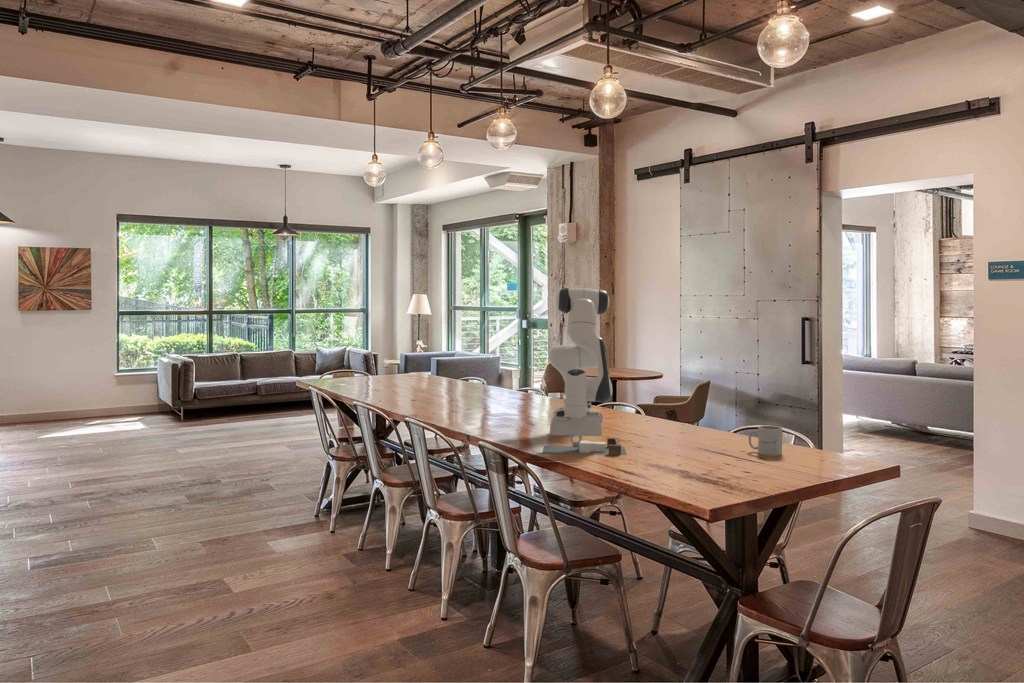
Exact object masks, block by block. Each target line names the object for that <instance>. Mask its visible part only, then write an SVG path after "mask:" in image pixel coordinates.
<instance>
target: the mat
mask: <svg viewBox="0 0 1024 683" xmlns="http://www.w3.org/2000/svg"><path fill="white" fill-rule="evenodd" d="M541 454H542V455H585V456H586V455H591V456H592V455H596V456H598V455H599V456H600V455H602V456H603V455H604V456H610V455H609V447H607V446H606V452H594V451H590V453H579V447H572V445H543V447H542V451H541ZM627 455H628V454H627V450H626V447H625V446H621V455H620V456H627Z"/></svg>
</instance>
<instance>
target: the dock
mask: <svg viewBox="0 0 1024 683" xmlns="http://www.w3.org/2000/svg"><path fill="white" fill-rule="evenodd" d="M606 445H607V446H606V447H609V455H608V456H622V455H621V447H622V445H621V442H620V438H619V437H607V444H606Z"/></svg>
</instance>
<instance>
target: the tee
mask: <svg viewBox="0 0 1024 683" xmlns="http://www.w3.org/2000/svg"><path fill="white" fill-rule="evenodd" d="M606 445H607V444H606V442H605V441H590V440H581V441H580V443H579V453H590V451H594V452H606V447H607V446H606Z"/></svg>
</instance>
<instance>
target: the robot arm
mask: <svg viewBox="0 0 1024 683" xmlns="http://www.w3.org/2000/svg"><path fill="white" fill-rule="evenodd" d="M557 294H558V295H557V297H556V305H557V308H558V310H559V311H560V312H561V313H563V314H568V319H567V334H568V336H569V339H570V340H571V342H572V343H573V344H560V345H556V346H553V347H552V349H551V350H550V351H549V354H548V358H549V362H550V364H551V365H552V367H553V368H555V369H556V370H557V371H558V372H559V374H560V375H561V377H562V379H563V381H564V383H563V394H564V396H565V399H564V403H563V404H564V406H563V407H560V408H556V409H553V412H552V413H553V416H552V418H551V422H550V426H549V433H550V434H549V435H551V436H563V437H565V436H566V437H567V436H569V441H570V442H571V443H572V445H571V446H572V447H579V443H580V441H583V437H600V436H601V435H602V434H603V428H602V423H603V422H604V416H603V414H602V413H600V412H599V411H594V410H592V402H595V403H602V404H603V403H604V404H605V403H606V402H607V401H609V400H610V399H611V398H612V395H613V385H612V381H611V377H610V371H609V364H608V356H607V349H606V346H605V341H604V339H603V338H602V337H601V336H600V335H599V334H598V330H597V315H603V314H606V312H608V309H609V307H610V303H611V302H610V301H611V300H610V296H609V293H608V292H607V291H606V290H603V289H595V288H590V287H589V288H588V287H581V288H579V287H578V288H577V287H576V288H573V287H572V288H569V287H565V288H562V289H560V290H559V293H557ZM586 369H589V370H594V369H598V376H587V373H586V371H585V370H586ZM574 436H576V437H578V441H574Z"/></svg>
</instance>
